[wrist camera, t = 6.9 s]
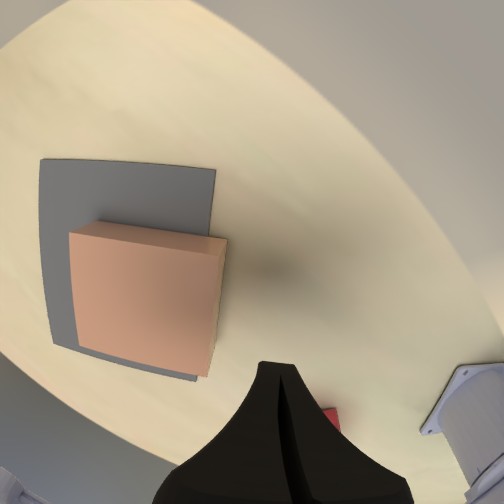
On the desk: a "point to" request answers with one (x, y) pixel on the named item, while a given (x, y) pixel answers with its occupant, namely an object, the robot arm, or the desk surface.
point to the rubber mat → (114, 211)
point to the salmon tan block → (147, 294)
